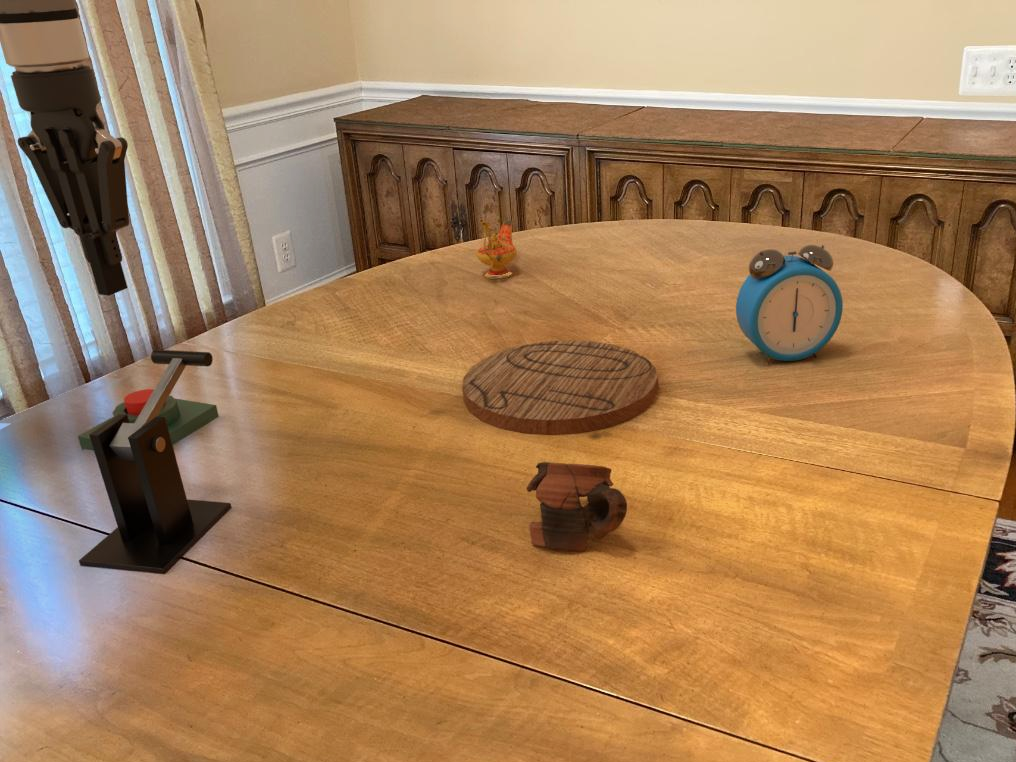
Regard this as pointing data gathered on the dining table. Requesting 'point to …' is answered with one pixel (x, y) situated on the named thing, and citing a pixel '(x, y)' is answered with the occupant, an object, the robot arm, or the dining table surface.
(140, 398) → the button
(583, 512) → the pottery mug
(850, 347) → the dining table surface
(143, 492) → the bracket
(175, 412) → the button block
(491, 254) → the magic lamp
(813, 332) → the alarm clock
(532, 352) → the trivet
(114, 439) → the lever
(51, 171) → the robot arm
